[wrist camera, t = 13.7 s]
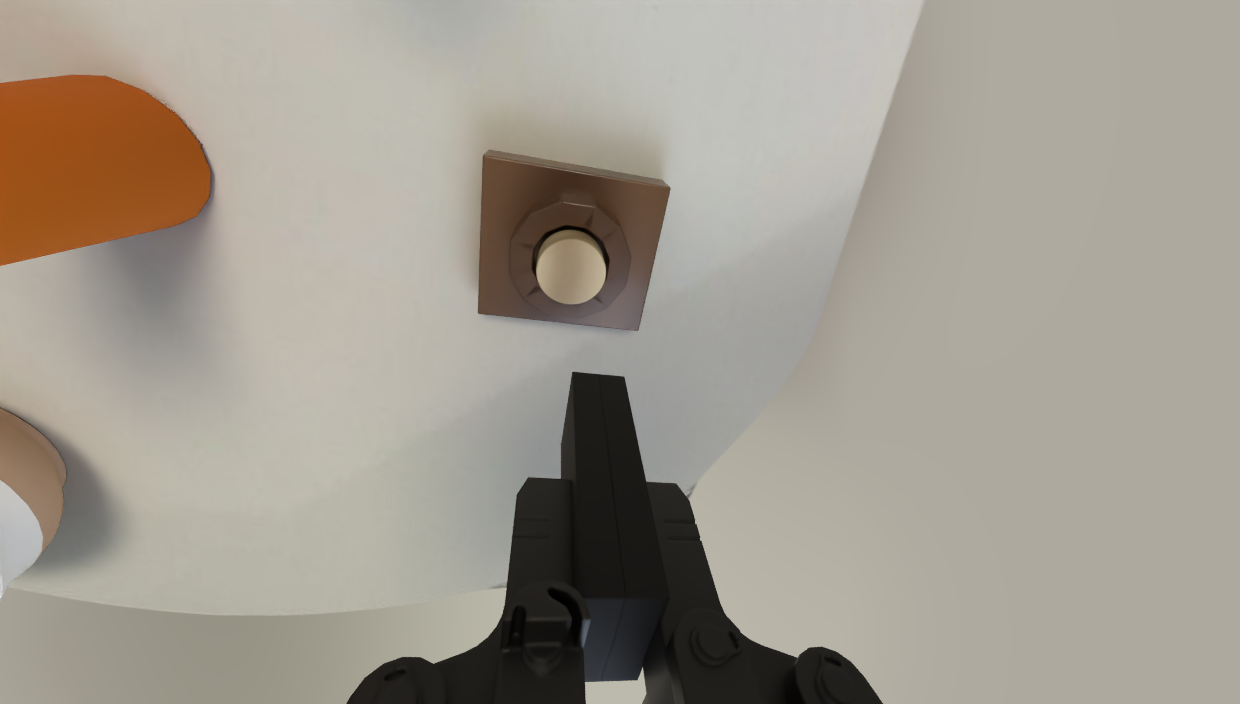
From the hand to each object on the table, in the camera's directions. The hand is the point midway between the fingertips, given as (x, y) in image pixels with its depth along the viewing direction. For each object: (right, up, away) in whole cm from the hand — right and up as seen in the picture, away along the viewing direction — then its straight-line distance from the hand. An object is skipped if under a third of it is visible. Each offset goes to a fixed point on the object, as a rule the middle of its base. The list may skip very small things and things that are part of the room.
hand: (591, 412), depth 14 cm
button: (-2, +7, +12) cm, 14 cm away
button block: (-2, +9, +15) cm, 17 cm away
